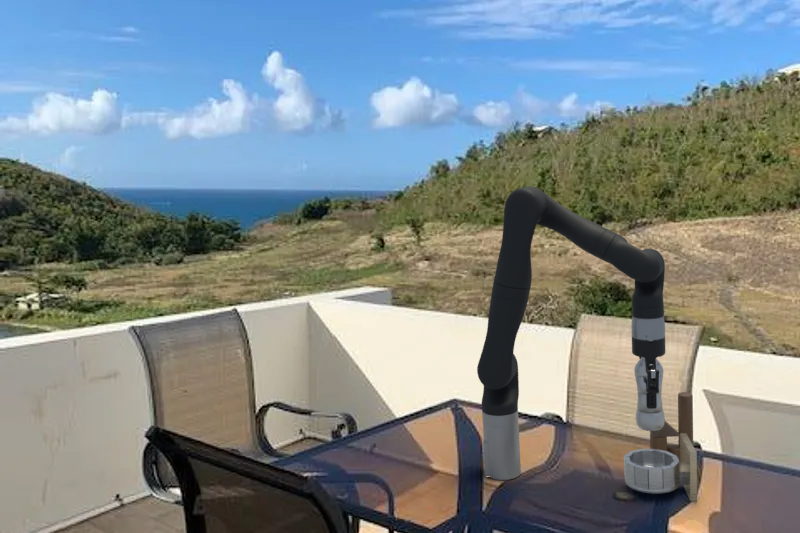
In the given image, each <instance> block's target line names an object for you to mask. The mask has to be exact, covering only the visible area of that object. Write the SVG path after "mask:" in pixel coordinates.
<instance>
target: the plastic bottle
mask: <svg viewBox="0 0 800 533" xmlns="http://www.w3.org/2000/svg"><path fill="white" fill-rule="evenodd" d="M641 364H642V367H641ZM658 364H659V367H658ZM656 370H659V393H656V396H657V407H656V408H655V409H648V408H647V406H646V391H645V390H646V384H645V383H644V382H643V376H644V377H646V379H647V373H646V367H645V358H644V357H641V359H640V358H639V360H637V362H636V364H635V366H634V369H633V372H634V376H635V377H634V378H635V383H636V391H637V404H636V405H637V406H636V407H637V408H636V413H635V424H636V425H637V427H638V428H639V429H640V430H643V431H648V432H650V431H657V430H660V429H662V428H663V426H664V423H665V421H666V417H665V412H664V408H663V399H662V398H663V397H662V391H663V390H662V385H663V381H664V368H663V366H662V363H661V362H660V360H659V359H657V358H656ZM650 388H654V385H650Z"/></svg>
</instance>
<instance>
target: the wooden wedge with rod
mask: <svg viewBox="0 0 800 533" xmlns="http://www.w3.org/2000/svg"><path fill="white" fill-rule="evenodd" d="M693 399H694V398H693V393H691V392H687V391H681V392H678V394H677V422H678V426H677V428H678V430H677V429H676V428H674V427H673V426H672V425H671V424H670V423H669V422H668V421H667V420H665V423H664V426H663V428H662V429H660V430H657V431H649V442H650V443H649V444H650V447H649V449H658V450H663V451H667V452H670V453H672V454H674V455H676V456H677V457H678V459H679V463H680V433H686V434H687V436H688V437H689V439H690V441H691V443H692V445H693V446H694V407H693V406H694V405H693V402H694V401H693ZM669 437H670V438H671V437H678V444H668V438H669Z"/></svg>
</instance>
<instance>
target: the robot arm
mask: <svg viewBox="0 0 800 533" xmlns="http://www.w3.org/2000/svg"><path fill="white" fill-rule="evenodd" d="M507 196H508V197H507V198H506V201H505V204H504V211H503V227H502V238H501V239H502V240H501V246H500V250H499V253H498V258H497V264H496V269H495V274H494V277H493V283H492V288H491V295H490V302H489V310H488V311H489V312H488V318H487V319H488V320H487V328H486V335H485V338H484V339H485V340H484V344H483V346H482V351H481V353H480V357H479V360H478V363H477V370H476V371H477V372H476V373H477V376H478V380H479V382H480V383H481V384H482V385H483V392H482V398H481V414H482V416H481V417H482V433H483V437H482V438H483V441H482V447H483V448H482V449H483V467H484V468H483V469H484V477H485V476H490V477H491V478H490V479H492V478H493V480H499V481H508V480H512V479H515V478H518V477H519V476H520V475H521V474H522V469H521V468H522V467H521V466H522V464H521V449H520V448H521V447H520V424H519V395H520V394H519V392H520V389H519V388H520V387H519V382H520V381H519V364H518V360H517V357H516V355H515V354H514V349H515V342H516V339H517V335H518V332H519V330H520V327H521V324H522V322H523V319H524V317H525V313H526V310H527V306H528V302H529V297H530V294H531V287H532V279H533V276H532V275H533V273H532V272H533V271H532V256H531V255H532V254H531V248H532V243H533V238H534V234H535V230H536V227H537V225H538V226H542V227H544V228H547V229H549V230H552V231H554V232H556V233H558V234H560V235H562V236H563V237H564V238H566V239H568V240H569V241H570V242H572V243H573V244H574V245H575V246H576V247H578V248H579V249H581V250H583V252H586V253H588V254H590V255H592V256H594V257H595V258H598V259H600V260H601V261H604V262H606V263H609V264H611V265H612V266H613V267H615V269H617V270H618V271H620V272H622V273H623V274H625V275H626V276H627V277H629V278H630V279H633V280H634V291H633V294H632V298H631V310H632V311H631V313H632V314H631V315H632V316H631V325H630V326H631V352H632V355H634V356H636V357H638V358H639V360H640V359H641V357H644V358H645V367H646V373H647V379H646V377H644V376H643V382H644V383H645V384H646V390H645V391H646V406H647V408H648V409H655V408H656V407H657V396H656V393H659V370H656V359H657V358H661V357H663V356H664V355H666V323H665V314H664V286H665V275H666V274H665V272H666V268H665V266H666V264H665V259H664V257H663V255H662V254H661V252H660V251H658V250H656V249H654V248H644V249H640V248H639V247H636V246H635V245H633V244H632V243H629V242H628V240H627V239H626V238H625V237H624V236H622V235H620V234H618V233H617V232H614V231H613V230H610V229H608V228H607V227H604V226H602V225H599V224H598V223H596V222H594V221H591V220H589V219H587V218H585V217H583V216H581V215H579V214H577V213H575V212H574V211H572V210H570V209H568V208H567V207H565V206H563V205H562V204H561V203H559V202H557V200H555V199H553V198H552V197H551V196H550V195H548V194H547V193H546V192H544V191H542V189H540V188H538V187H535V186H525V187H519V188H516V189H514V190H513V191H511V193H510V194H509V195H507ZM641 367H642V364H641ZM658 367H659V364H658ZM650 385H654V388H650Z"/></svg>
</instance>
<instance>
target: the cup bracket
mask: <svg viewBox="0 0 800 533" xmlns="http://www.w3.org/2000/svg"><path fill="white" fill-rule="evenodd" d="M697 456H698V452H697V450H696V448H695V447H694V444H693V445H692V443H691V441H690V439H689V437H688V436H687V434H686V433H680V462H679V459H678V457H677V456H676V455H674V454H672V453H670V452H667V451H663V450H658V449H650V448H638V449H634V450H630V451H628V452H627V453H626V454H625V455H624V456H623V471H624V472H623V473H624V474H623V475H624V482H625V485H626V486H628V488H630V489H632V490H634V491H637V492H640V493H644V494H645V493H646V494H652V495H653V494H654V495H657V494H666V493H671V492H674V491H675V490H677V489H678V488H679V486H683V488H684V490H685V493H686V494H687V496H688V499H689V501H690V502H693V503H694V502H695V503H696V502H698V457H697Z"/></svg>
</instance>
